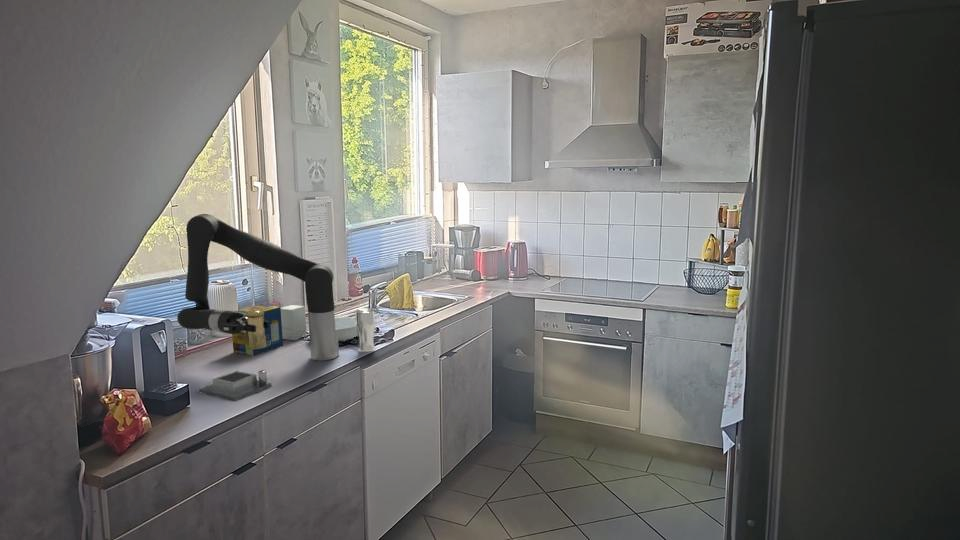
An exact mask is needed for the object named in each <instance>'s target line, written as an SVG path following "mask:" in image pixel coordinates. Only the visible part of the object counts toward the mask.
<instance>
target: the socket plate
mask: <svg viewBox="0 0 960 540" xmlns="http://www.w3.org/2000/svg"><path fill="white" fill-rule="evenodd" d="M257 373H258V375H257V374H255V373H249V372H244V371H239V370H235V371H231V372H229V373H226V374H224V375H221V376H218V377H214V378H212V384H210V385H207V386H204V387H201V388H198V393H200V392H202V393H201V394H204V393H205V395H208V394H209V396H213V397H217V396H218V397H217V398H222V399H226V400H229V401H234V402H235V401H238V400H241V399H243V398H246V397H248V396H252V395H253V394H257V393H258V392H261V391H264V390H266V389H269V388H271V387H272V382H268V377H267V376H268V375H267V370H263V369H262V370H259V371H257ZM257 376H258V377H257Z"/></svg>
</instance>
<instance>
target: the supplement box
mask: <svg viewBox="0 0 960 540" xmlns="http://www.w3.org/2000/svg"><path fill="white" fill-rule="evenodd" d="M305 308H306V307H305V305H297V304H291V305H287V306H283V307H281V322H282V337H283V340H286V341H287V340H288V341H297V340H300V339H299V338H301V337H302V336H303V335H305V334H308V333H307V321H306V309H305ZM301 339H302V338H301Z"/></svg>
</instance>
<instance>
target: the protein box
mask: <svg viewBox="0 0 960 540" xmlns="http://www.w3.org/2000/svg"><path fill="white" fill-rule="evenodd" d="M281 308H282V307H281V306H276V305H275V306H274V305H268V304H262V303H261V304H257V305H253V306H249V307H246V308H242V309H238V310H235V312H239V313H241V314H242V316H243V317H246V312H247V311H249V310H254V309H261V310H264V315H263V317H264V318H265V321H269V325H270V327H269V328H265V340H266V347H264V348H261V349H250V344H249V333H248V331H246V332H241V333H237V334H231V335H232V336H231V337H232V351H233V353H235V354H241V355H245V356H246V355H247V356H250V357H251V356H252V357H253V356H257V355H259V354H262V353H265V352H269V351H272V350H274V348H275V349H277V347H278V348H280V346H281V347H283V346H284V341H283V340H284V339H283V337H282V322H281ZM268 350H269V351H268Z"/></svg>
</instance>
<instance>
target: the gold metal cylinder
mask: <svg viewBox="0 0 960 540" xmlns="http://www.w3.org/2000/svg"><path fill="white" fill-rule="evenodd" d="M263 315H264V310H261V309H254V310H249V311H247V312H246V317H247V322H248V324H250V325H255V326H256V332H248V333H249V344H250V349H261V348H264V347H266V340H265V328H264V317H263Z"/></svg>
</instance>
